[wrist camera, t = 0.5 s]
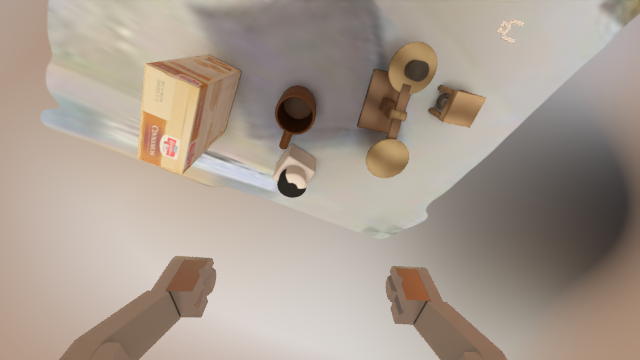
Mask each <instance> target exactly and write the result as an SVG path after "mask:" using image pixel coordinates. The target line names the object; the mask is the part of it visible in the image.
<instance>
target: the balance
mask: <svg viewBox="0 0 640 360" xmlns="http://www.w3.org/2000/svg"><path fill="white" fill-rule="evenodd" d="M436 69H437V57H436V54H435V52H434V50H433V49H432V48H431V47H430V46H429V45H427V44H425V43H422V42H413V43H409V44H407V45H405V46H403V47H402V48H400V49H399V50H398V51H397V52H396V54H395V55H394V56H393V58H392V60H391V62H390V66H389V71H388V72H384V71H380V70H376V69H374V70H373V74H372V77H371V81H370V84H369V87H368V91H367V94H366V98H365V101H364V104H363V108H362V111H361V114H360V118H359V121H358V125H357V126H358V127H360V128H365V129H370V130H375V131H380V132H385V133H387V137H386V139H384V140H381V141H379V142H377V143H376V144H374V145H373V146H372V147H371V148H370V150H369V151H368V153H367V156H366V165H367V167H368V170H369V171H370V172H371V173H372V174H373V175H375V176H377V177H380V178H389V177H393V176H395V175H397V174H399V173H400V172H401V171H402V170H403V169H404V168H405V167H406V165H407V163H408V160H409V152H408V149H407V147H406V146H405V145H404V144H403V143H402V142H401V141H399V140H396V139H397V135H398V132H399V128H400V125H401V121H405V120H406V117H407V112H405V111H406V106H407V104H408V101H409V99H410V96H411V94H413V93H417V92H419V91H421V90H422V89H424V88H425V87H426V86H427V85H428V84H429V83H430V82H431V80H432V79H433V77H434V75H435V72H436Z"/></svg>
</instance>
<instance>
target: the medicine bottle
mask: <svg viewBox="0 0 640 360" xmlns="http://www.w3.org/2000/svg"><path fill="white" fill-rule="evenodd" d="M314 174H315V158H313V157H312V156H310V155H309V154H307V153H305V152H304V151H302V150H301V149H299V148H298V147H296V146H295V145H293V144H291V145H290V146H289V148H288V149H287V151H286V152H285V153H284V155H283V156H282V158H281V159H280V160H279V162H278V163H277V166H276V169H275V172H274V175H273V179H274V180H276V181H277V182H278V184H277V186H278V189H279V191H280V192H281V193H282V194H283V195H285V196H287V197H292V198H294V197H298V196H301V195H302V194H303V193H304V192H305V190H306V183H307V182H308V181H309V180H310V178H311V177H312V176H313V175H314Z"/></svg>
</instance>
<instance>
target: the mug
mask: <svg viewBox="0 0 640 360" xmlns="http://www.w3.org/2000/svg"><path fill="white" fill-rule="evenodd" d="M315 116H316V103H315V99H314V96H313V95H312V93H311V92H310V91H309V90H308V89H306V88H304V87H301V86H294V87H291V88H289V89H287V90H286V91H285V92H284V94H283V95H282V96H281V98H280V100H279V101H278V103H277V106H276V110H275V117H276V121H277V123H278V125H279V126H280V127H281V128H282V129H283V130H284V133H283V136H282V139H281V142H280V145H279V146H280V148H281V149H286V148H287V147H288V144H289V142H290V139H291V137H292V134H302V133H304V132H306V131H308V130H309V129H310V128H311V127H312V125H313V123H314V120H315Z"/></svg>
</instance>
